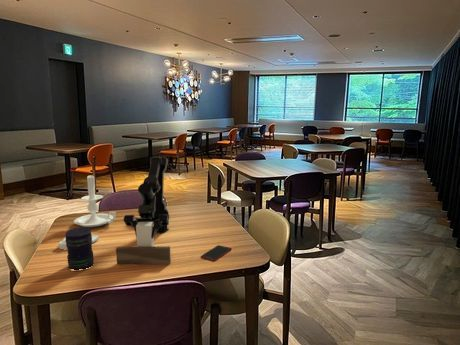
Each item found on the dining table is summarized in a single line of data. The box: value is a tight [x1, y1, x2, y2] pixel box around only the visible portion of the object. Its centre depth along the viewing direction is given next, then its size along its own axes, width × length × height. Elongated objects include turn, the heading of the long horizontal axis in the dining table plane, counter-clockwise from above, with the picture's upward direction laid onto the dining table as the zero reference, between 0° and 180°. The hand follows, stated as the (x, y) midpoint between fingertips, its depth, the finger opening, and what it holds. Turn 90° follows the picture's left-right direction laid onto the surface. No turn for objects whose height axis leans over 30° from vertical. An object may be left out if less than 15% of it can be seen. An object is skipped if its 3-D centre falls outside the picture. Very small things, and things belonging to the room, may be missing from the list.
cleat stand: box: [115, 245, 172, 265], centre depth 153 cm, size 11×22×7 cm, turn 91°
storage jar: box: [64, 227, 95, 270], centre depth 146 cm, size 10×10×15 cm
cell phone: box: [200, 244, 232, 262], centre depth 159 cm, size 8×15×1 cm, turn 149°
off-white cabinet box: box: [135, 222, 155, 247], centre depth 152 cm, size 5×6×12 cm
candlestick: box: [73, 174, 117, 228], centre depth 195 cm, size 21×25×28 cm
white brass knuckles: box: [58, 233, 100, 250], centre depth 171 cm, size 3×18×15 cm
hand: (144, 238), depth 151 cm, fingers closed on off-white cabinet box, 6 cm apart
